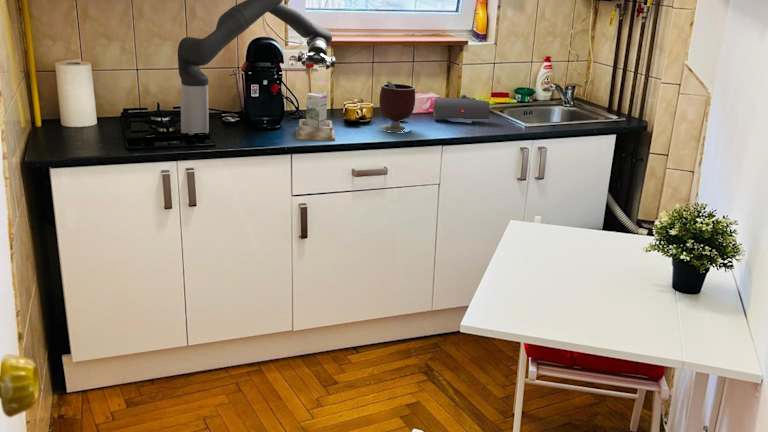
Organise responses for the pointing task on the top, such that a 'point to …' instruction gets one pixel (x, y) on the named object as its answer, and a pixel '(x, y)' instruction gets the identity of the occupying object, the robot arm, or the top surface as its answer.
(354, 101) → the tin
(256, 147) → the top surface
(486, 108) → the bluetooth speaker
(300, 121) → the beige square tray
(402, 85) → the mate gourd
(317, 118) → the syrup box
